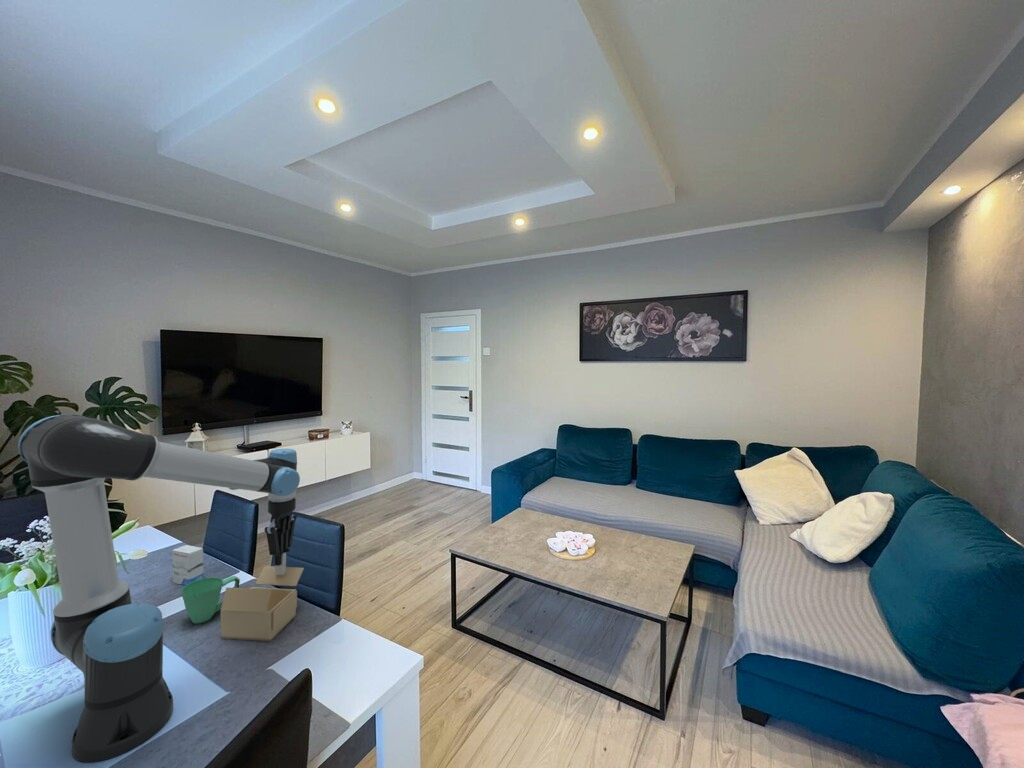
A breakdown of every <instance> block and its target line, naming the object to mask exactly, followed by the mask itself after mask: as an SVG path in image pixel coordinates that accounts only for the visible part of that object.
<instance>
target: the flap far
mask: <svg viewBox="0 0 1024 768" xmlns="http://www.w3.org/2000/svg"><path fill="white" fill-rule="evenodd" d="M304 569H305V568H304V567H295V566H293V567H292V566H286V573H285V574H284V575H275V565H274V566H273V565H264V567H263V569H262V570H261V572H260V574H259V575H258V578H257V580H256V581H255V584H256V585H266V586H267V585H268V586H283V587H297V585H298V582H300V581H299V580H300V578H301V576H302V575H303V572H304Z"/></svg>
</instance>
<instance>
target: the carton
mask: <svg viewBox="0 0 1024 768" xmlns="http://www.w3.org/2000/svg"><path fill="white" fill-rule="evenodd" d="M247 589H266V590H271V594H270V599H269V603H268V608H267V612H250V611H233V610H221V609H220V631H221V632H220V633H221V635H220V639H225V640H238V641H239V640H240V641H242V640H243V641H260V642H271V641H272V640H273V639H274V638H275V637H276V636H277V635H278V634H279V633H280V632H281V630H283V628H285V627H286V626H287V625H288V624H289V622H290V621H291V620H293V618H295V617H296V615H297V614H296V613H297V611H296V610H297V607H298V606H297V605H298V604H297V603H298V591H297V589H296V588H295V589H294V588H293V589H291V588H276V587H275V588H274V587H258V586H257V587H256V586H251V587H250V588H247Z"/></svg>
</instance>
